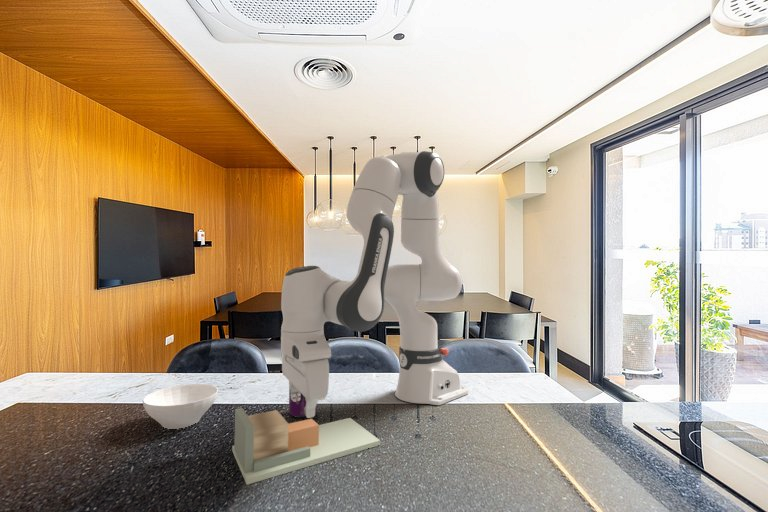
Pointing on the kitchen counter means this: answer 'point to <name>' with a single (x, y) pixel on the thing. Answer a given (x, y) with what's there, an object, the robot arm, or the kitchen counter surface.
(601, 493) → the kitchen counter surface
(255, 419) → the block
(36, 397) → the kitchen counter surface
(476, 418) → the kitchen counter surface
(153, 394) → the bowl
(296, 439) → the rectangular bar
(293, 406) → the beverage can
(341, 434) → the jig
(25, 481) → the kitchen counter surface
